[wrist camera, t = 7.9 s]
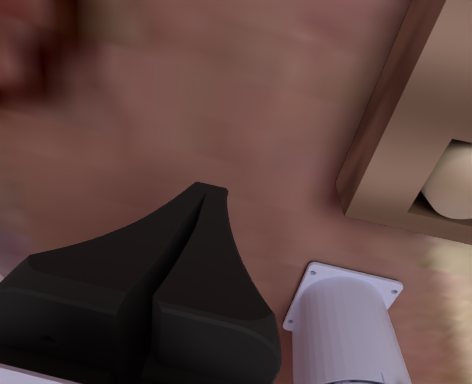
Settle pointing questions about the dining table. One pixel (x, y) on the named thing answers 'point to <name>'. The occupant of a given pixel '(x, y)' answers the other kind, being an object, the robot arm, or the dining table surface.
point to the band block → (413, 122)
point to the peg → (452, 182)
